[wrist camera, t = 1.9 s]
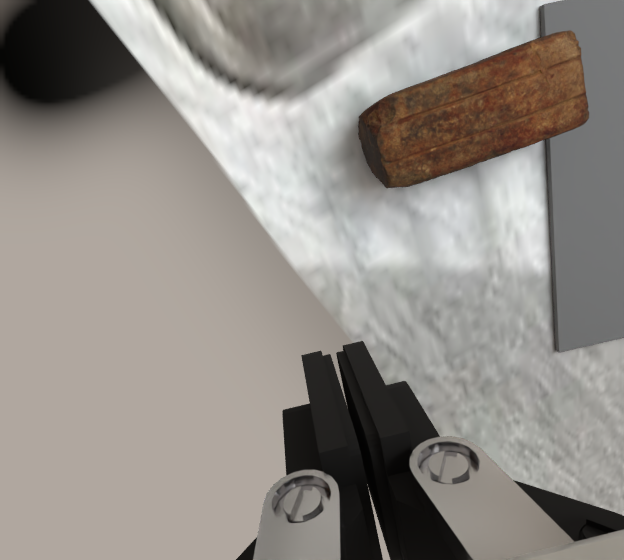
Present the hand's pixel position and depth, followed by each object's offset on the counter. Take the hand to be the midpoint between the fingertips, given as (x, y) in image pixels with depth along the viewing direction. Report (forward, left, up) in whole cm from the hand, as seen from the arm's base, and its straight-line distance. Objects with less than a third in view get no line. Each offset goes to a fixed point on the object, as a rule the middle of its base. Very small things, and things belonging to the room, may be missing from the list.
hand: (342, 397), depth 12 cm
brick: (-8, -2, -12) cm, 15 cm away
